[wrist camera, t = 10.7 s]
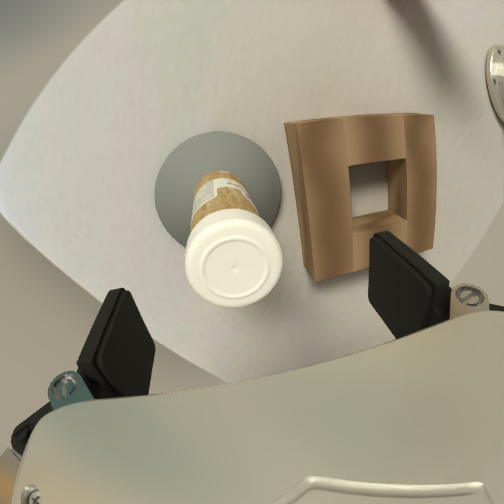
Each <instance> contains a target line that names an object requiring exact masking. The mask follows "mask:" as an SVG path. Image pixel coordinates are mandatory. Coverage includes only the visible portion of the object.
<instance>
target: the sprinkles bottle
mask: <svg viewBox="0 0 504 504" xmlns="http://www.w3.org/2000/svg"><path fill="white" fill-rule="evenodd" d="M190 231H191V233H190V235H189V238H188V241H187V245H186V252H185V271H186V276H187V279H188V281H189V284H190V285H191V287H192V288H193V290H194V291H195V292H196V293H197V294H198V295H199V296H200V297H201V298H203V299H204V300H206V301H207V302H209V303H211V304H214V305H217V306H221V307H227V308H236V307H243V306H247V305H250V304H253V303H255V302H257V301H259V300H261V299H262V298H264V297H265V296H266V295H267V294H268V293H269V292H271V290H272V289H273V288H274V287H275V285H276V284H277V282H278V280H279V278H280V276H281V273H282V267H283V255H282V250H281V247H280V244H279V242H278V240H277V238H276V236H275V234H274V233H273V231H272V229H271V228H270V227H269V225H268V224H267V223H266V222H265V221H264V220H263V219H262V218H260V216H259V213H258V211H257V209H256V207H255V205H254V204H253V202H252V200H251V198H250V196H249V194H248V192H247V191H246V188H245V185H244V184H243V182H242V180H241V179H240V178H239V177H237V176H236V175H235V174H233V173H230V172H227V171H215V172H211V173H209V174H207V175H205V176H204V177H203V178H202V179H201V180H200V181H199V182H198V184H197V186H196V188H195V191H194V203H193V210H192V219H191V229H190Z"/></svg>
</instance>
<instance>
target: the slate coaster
mask: <svg viewBox="0 0 504 504" xmlns="http://www.w3.org/2000/svg"><path fill="white" fill-rule="evenodd" d="M215 171H227V172H230V173H233V174H235V175H236V176H237V177H239V178H240V179H241V180H242V182H243V184H244V185H245V188H246V191H247V192H248V194H249V196H250V198H251V200H252V202H253V204H254V205H255V207H256V209H257V211H258V213H259V216H260V218H262V219H263V220H264V221H265V222H266V223H267V224H268V225H269V227H270V225H271V224H272V222H273V221H274V218H275V216H276V214H277V211H278V208H279V204H280V198H281V186H280V180H279V175H278V173H277V170H276V167H275V165H274V164H273V162H272V160H271V159H270V157H269V156H268V155H267V153H266V152H265V151H264V150H263V149H262V148H261V147H259V146H258V145H257V144H255V143H254V142H252V141H251V140H249V139H247V138H245V137H242V136H240V135H237V134H233V133H227V132H210V133H204V134H201V135H197V136H195V137H193V138H190V139H188V140H187V141H185V142H184V143H182V144H181V145H179V146H178V147H177V148H176V149H175V150H174V151H173V152H172V153H171V154H170V155H169V156H168V157H167V159H166V160H165V162H164V163H163V165H162V167H161V169H160V171H159V174H158V177H157V180H156V185H155V204H156V209H157V212H158V215H159V218H160V220H161V222H162V224H163V225H164V227H165V228H166V230H167V231H168V232H169V233H170V234H171V236H172V237H173V238H175V239H176V240H177V241H178V242H180V243H181V244H183V245H184V246H186V245H187V241H188V238H189V235H190V233H191V231H190V229H191V219H192V210H193V203H194V191H195V188H196V186H197V184H198V182H199V181H200V180H201V179H202V178H203V177H204V176H205V175H207V174H209V173H211V172H215Z"/></svg>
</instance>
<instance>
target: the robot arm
mask: <svg viewBox="0 0 504 504" xmlns="http://www.w3.org/2000/svg"><path fill="white" fill-rule="evenodd" d="M486 78H487V85H488V90H489V94H490V98H491V101H492V104H493V106H494V109H495V111H496V113H497V115H498V116H499V118H500V119H501V121H502V122H503V123H504V45H496V46H493V47H492V48H491V49H490V51H489V53H488V57H487V61H486ZM449 282H450V281H449V280H448V279H447V278H446V277H444V276H443V275H442V274H441V273H440V272H439V271H437V270H436V269H435V268H434V267H433V266H432V265H430V264H429V263H428V262H427V261H426V260H424V259H423V258H422V257H421V256H420V255H418V254H417V253H416V252H415V251H413V250H412V249H411V248H410V247H408V246H407V245H406V244H405V243H403V242H402V241H401V240H400V239H398V238H397V237H396V236H395V235H393V234H392V233H391V232H389V231H382V232H378V233H374V234H373V238H370V241H369V286H368V298H369V301H370V303H371V305H372V306H373V308H374V309H375V310H376V312H377V313H378V314H379V316H380V317H381V318H382V320H383V321H384V323H385V324H386V325H387V327H388V328H389V329H390V331H391V332H392V334H393V335H394V336H395V338H396V340H393V341H390V342H387V343H384V344H381V345H378V346H375V347H372V348H369V349H366V350H363V351H360V352H357V353H354V354H350V355H347V356H344V357H340V358H337V359H333V360H330V361H326V362H323V363H319V364H315V365H312V366H308V367H304V368H300V369H296V370H292V371H288V372H283V373H279V374H275V375H270V376H266V377H261V378H256V379H251V380H246V381H241V382H236V383H230V384H224V385H219V386H213V387H206V388H200V389H193V390H186V391H178V392H171V393H161V394H151V395H148V393H149V386H150V380H151V373H152V367H153V361H154V355H155V345H154V342H153V339H152V337H151V335H150V333H149V331H148V329H147V327H146V325H145V323H144V321H143V319H142V317H141V315H140V312H139V310H138V308H137V306H136V304H135V301H134V299H133V297H132V295H131V293H130V291H126V290H125V289H124V288H119V289H114V290H110V291H109V292H108V294H107V296H106V298H105V300H104V302H103V304H102V307H101V309H100V311H99V313H98V315H97V317H96V319H95V321H94V324H93V326H92V328H91V331H90V333H89V335H88V337H87V340H86V342H85V344H84V346H83V349H82V351H81V354H80V356H79V359H78V361H77V365H78V370H77V372H75V371H67V372H63V373H61V374H59V375H58V376H57V377H55V378H54V379H53V381H52V382H51V383H50V385H49V388H48V398H49V400H50V402H48V403H47V404H46V405H44V406H43V407H42V408H40V409H39V410H38V411H37V412H35V413H34V414H32V415H31V416H30V417H28V418H27V419H26V420H25V421H23V422H22V423H20V424H19V425H18V426H17V427H16V428H15V429H14V431H13V434H12V437H11V444H12V447H13V448H12V449H10V448H9V447H8V448H7V449H6V450H5V451H4V453H3V454H2V455H1V456H0V504H504V307H503V306H498V305H493V304H489V300H488V296H487V294H486V292H485V291H484V290H483V289H481V288H480V287H478V286H476V285H473V284H465V283H464V284H459V285H457V286H455V287H454V288H453V289H451V288H450V287H449Z"/></svg>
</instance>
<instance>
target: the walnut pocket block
mask: <svg viewBox="0 0 504 504" xmlns="http://www.w3.org/2000/svg"><path fill="white" fill-rule="evenodd" d="M284 125H285V131H286V137H287V143H288V149H289V156H290V162H291V169H292V176H293V183H294V190H295V197H296V204H297V212H298V220H299V228H300V236H301V244H302V253H303V262H304V266H305V268H306V269H307V271H308V272H309V274H310V275H311V277H312V278H313V280H314V281H315V282H318V281H322V280H325V279H329V278H333V277H336V276H340V275H344V274H347V273H351V272H355V271H358V270H362V269H365V268H369V241H370V238H373V234H374V233H378V232H382V231H389V232H391V233H392V234H393V235H395V236H396V237H397V238H398V239H400V240H401V241H402V242H403V243H405V244H406V245H407V246H408V247H410V248H411V249H412V250H413V251H415V252H416V253H420V252H423V251H426V250H429V249H432V248H433V241H434V229H435V214H436V185H437V166H436V138H435V123H434V115H428V114H417V113H395V114H371V115H355V116H342V117H331V118H321V119H313V120H304V121H296V122H289V123H284ZM379 161H387V176H388V210H386V211H381V212H376V213H372V214H367V215H362V216H358V217H353V218H352V209H351V193H350V180H349V169H348V166H350V165H357V164H364V163H371V162H379Z"/></svg>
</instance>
